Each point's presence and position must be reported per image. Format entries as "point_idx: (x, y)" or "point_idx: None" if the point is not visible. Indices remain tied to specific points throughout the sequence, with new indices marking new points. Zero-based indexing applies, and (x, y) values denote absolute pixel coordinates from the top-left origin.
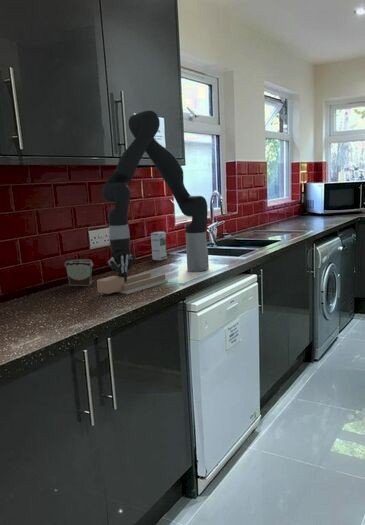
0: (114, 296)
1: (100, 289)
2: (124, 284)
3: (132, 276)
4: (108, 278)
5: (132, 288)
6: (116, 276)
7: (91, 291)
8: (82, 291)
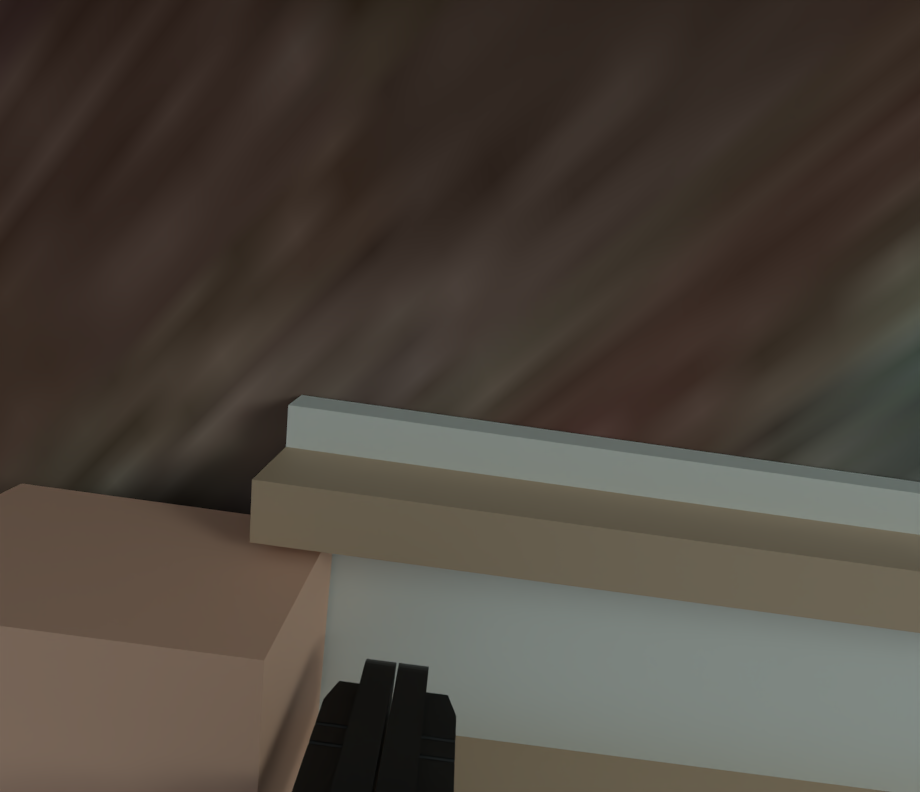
0: None
1: None
2: (295, 774)
3: (846, 569)
4: (29, 723)
5: None
6: (244, 757)
7: (149, 214)
8: (70, 52)
